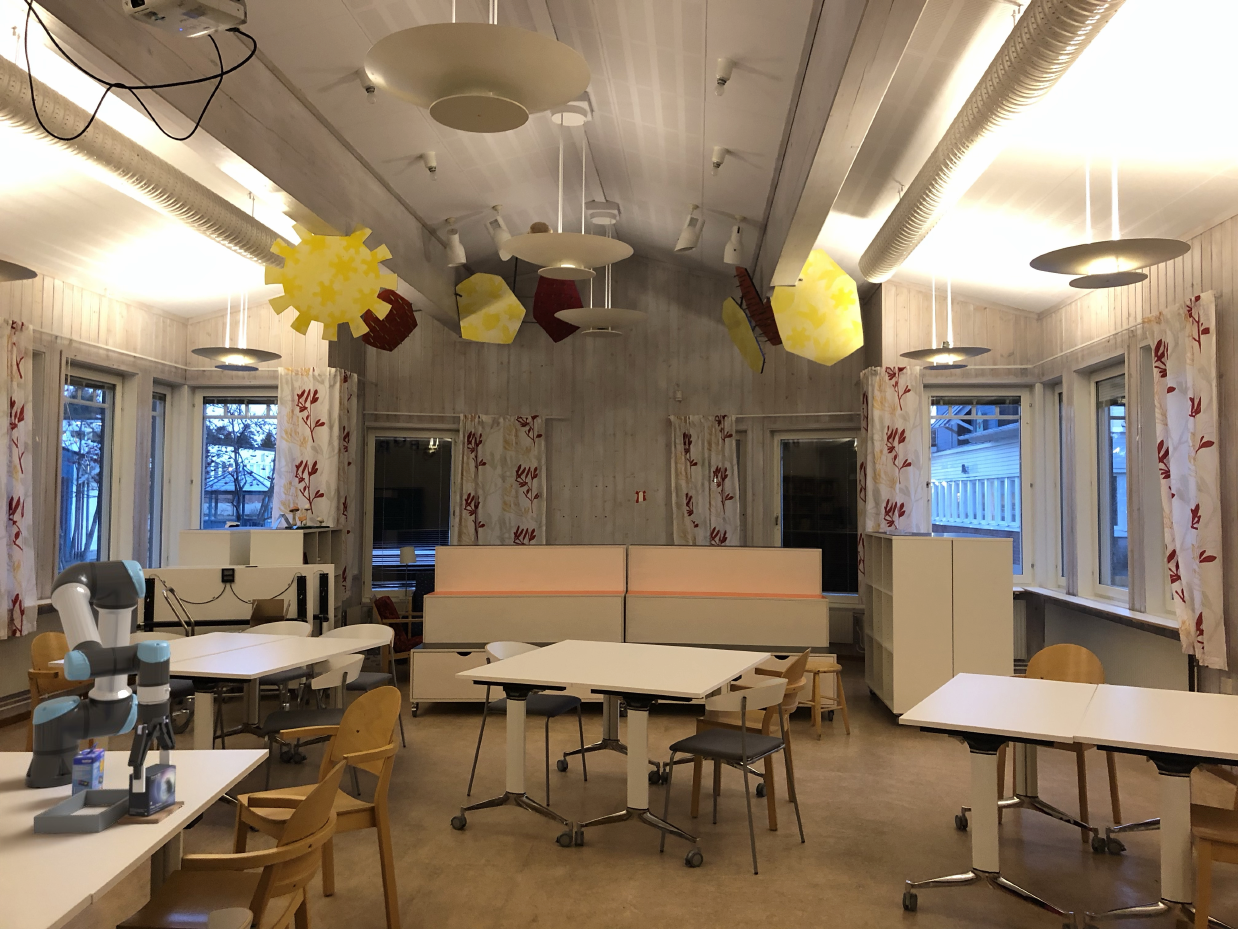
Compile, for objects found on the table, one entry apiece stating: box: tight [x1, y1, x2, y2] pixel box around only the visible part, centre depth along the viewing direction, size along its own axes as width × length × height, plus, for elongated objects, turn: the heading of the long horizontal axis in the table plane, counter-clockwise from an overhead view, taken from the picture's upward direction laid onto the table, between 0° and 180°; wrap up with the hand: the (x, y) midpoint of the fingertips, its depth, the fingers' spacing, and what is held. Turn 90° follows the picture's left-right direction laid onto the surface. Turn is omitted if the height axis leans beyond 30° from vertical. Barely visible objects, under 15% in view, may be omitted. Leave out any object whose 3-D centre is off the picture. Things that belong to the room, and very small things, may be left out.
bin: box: [33, 788, 129, 834], centre depth 236 cm, size 22×16×4 cm
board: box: [118, 800, 185, 825], centre depth 238 cm, size 14×10×1 cm
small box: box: [128, 763, 177, 817], centre depth 239 cm, size 11×6×10 cm, turn 169°
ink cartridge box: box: [71, 742, 106, 797], centre depth 253 cm, size 10×6×14 cm, turn 13°
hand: (152, 783), depth 239 cm, fingers open, 13 cm apart
